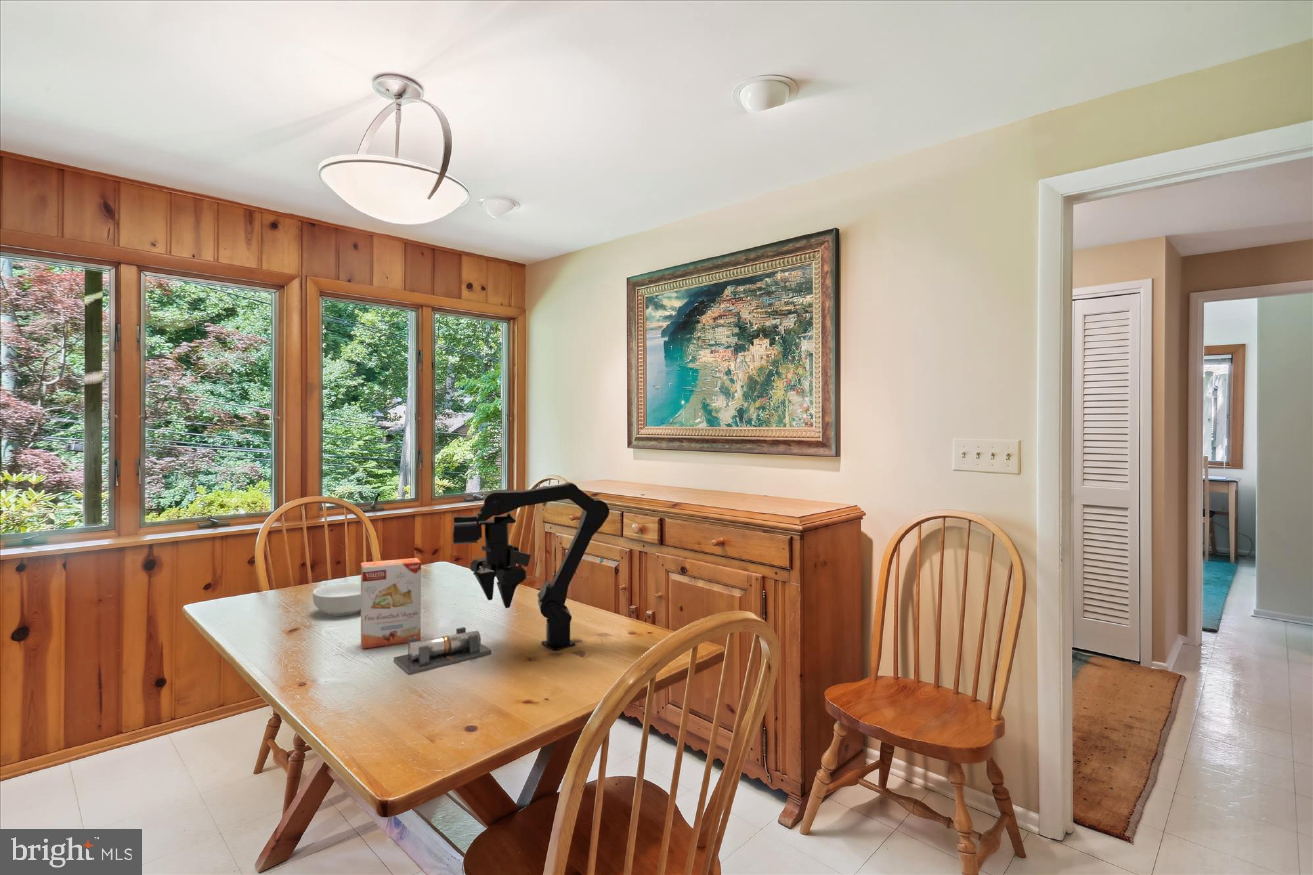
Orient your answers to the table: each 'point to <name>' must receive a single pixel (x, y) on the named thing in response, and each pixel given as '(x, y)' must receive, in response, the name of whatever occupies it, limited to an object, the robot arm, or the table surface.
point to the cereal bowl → (338, 598)
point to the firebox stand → (443, 659)
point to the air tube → (442, 644)
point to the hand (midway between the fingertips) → (498, 603)
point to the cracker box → (390, 602)
